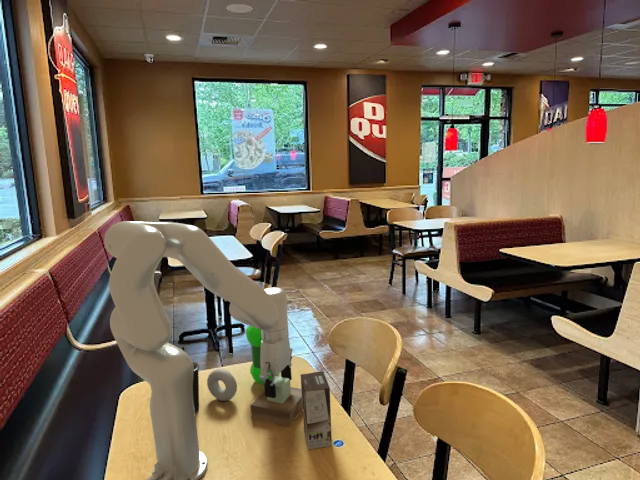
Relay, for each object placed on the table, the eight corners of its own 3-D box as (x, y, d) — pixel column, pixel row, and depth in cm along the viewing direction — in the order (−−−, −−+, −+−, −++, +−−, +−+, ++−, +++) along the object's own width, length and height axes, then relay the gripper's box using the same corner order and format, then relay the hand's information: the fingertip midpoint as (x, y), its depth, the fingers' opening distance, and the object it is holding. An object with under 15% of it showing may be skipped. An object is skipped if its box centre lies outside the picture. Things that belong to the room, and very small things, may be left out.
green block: (267, 400, 126) (266, 384, 125) (275, 391, 131) (274, 375, 130) (282, 403, 124) (281, 387, 123) (290, 394, 129) (289, 378, 128)
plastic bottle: (285, 373, 149) (281, 303, 143) (275, 390, 139) (270, 315, 133) (257, 371, 151) (252, 301, 146) (245, 387, 141) (239, 313, 136)
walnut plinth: (289, 426, 121) (288, 413, 120) (251, 417, 125) (250, 404, 124) (307, 402, 131) (307, 390, 131) (272, 395, 136) (271, 383, 135)
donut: (240, 399, 134) (237, 369, 132) (234, 405, 131) (231, 375, 129) (213, 393, 138) (210, 364, 136) (206, 399, 135) (203, 369, 133)
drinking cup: (176, 406, 132) (168, 344, 128) (202, 400, 135) (196, 339, 130) (176, 420, 125) (168, 355, 121) (204, 414, 128) (197, 350, 123)
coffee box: (332, 446, 112) (330, 388, 109) (307, 450, 111) (304, 391, 108) (326, 424, 121) (324, 370, 117) (303, 427, 120) (299, 373, 116)
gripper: (277, 318, 132) (281, 371, 136) (246, 343, 117) (251, 401, 121) (300, 321, 130) (303, 375, 133) (271, 347, 114) (275, 407, 118)
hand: (278, 387), depth 127 cm, fingers open, 9 cm apart
